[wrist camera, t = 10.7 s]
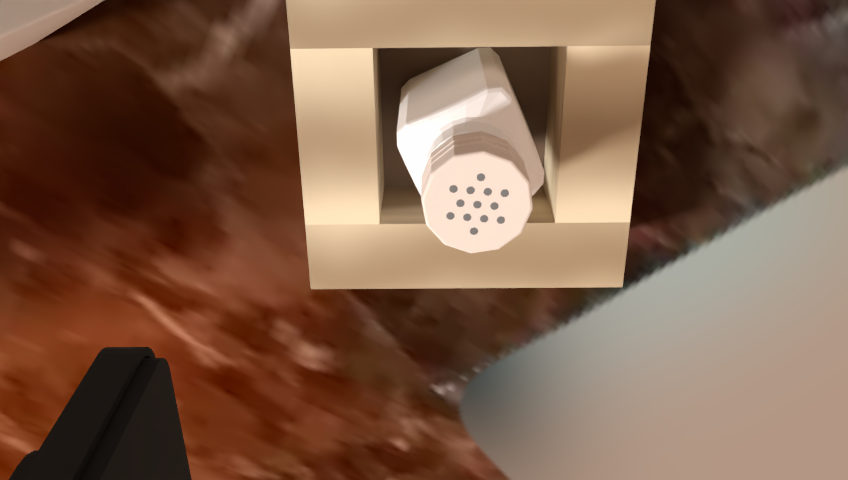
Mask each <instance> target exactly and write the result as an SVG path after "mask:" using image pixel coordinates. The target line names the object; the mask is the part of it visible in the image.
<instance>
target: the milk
mask: <svg viewBox="0 0 848 480" xmlns="http://www.w3.org/2000/svg"><path fill="white" fill-rule="evenodd" d="M102 1H104V0H0V61H1V60H3V59H5V58H7V57H9V56H11V55H13V54H15V53H17V52H19V51H21V50H23V49H25V48H27V47H29V46H31V45H33V44H35V43H36V42H38V41H40V40H41V39H43V38H44V37H46V36H48V35H49V34H51V33H52V32H54V31H56V30H57V29H59V28H61V27H62V26H64V25H65V24H67V23H69V22H70V21H72V20H73V19H75V18H77V17H78V16H80V15H81V14H83V13H85V12H86V11H88V10H90V9H91V8H93V7H94V6H96V5H98V4H99V3H101V2H102Z"/></svg>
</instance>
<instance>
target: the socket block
mask: <svg viewBox="0 0 848 480" xmlns="http://www.w3.org/2000/svg"><path fill="white" fill-rule="evenodd" d="M655 2H656V0H286V5H287V17H288V29H289V40H290V52H291V64H292V75H293V87H294V99H295V110H296V122H297V134H298V145H299V157H300V169H301V181H302V192H303V204H304V216H305V227H306V239H307V251H308V262H309V274H310V286H311V289H404V288H557V287H622V286H623V278H624V269H625V260H626V252H627V243H628V235H629V226H630V217H631V209H632V200H633V192H634V183H635V174H636V166H637V157H638V148H639V140H640V131H641V123H642V114H643V105H644V97H645V88H646V80H647V71H648V62H649V54H650V45H651V36H652V28H653V19H654V11H655ZM488 47H490V48H491V49H492V50H493V51H494V52H495V53H496V54H498V55H499V57H500V60H501V62H502V64H503V67H504V69H505V71H506V74H507V76H508V78H509V81H510V83H511V86H512V88H513V90H514V93H515V95H516V97H517V100H518V102H519V104H520V107H521V109H522V112H523V114H524V116H525V119H526V121H527V124H528V127H529V129H530V132H531V135H532V138H533V141H534V144H535V146H536V149H537V152H538V155H539V158H540V161H541V163H542V166H543V169H544V183H543V185H542V186H541V187H540V188H539V189H538V190H537V192H536V193H535V194H534V195H533V196H532V202H533V210H532V212H531V214H530V216H529V218H528V220H527V223H526V225H525V227H524V229H523V231H522V233H521V234H519V235H518V236H516V237H515V238H514V239H512V240H511V241H510V242H508V243H507V244H505V245H504V246H503V247H501V248H500V249H497V250H490V251H484V252H477V253H468V252H465V251H462V250H459V249H456V248H453V247H450V246H447V245H444V244H443V243H442V242H441V240H440V239H439V238H438V237H437V236H436V235H435V234H434V233H433V232H432V231H431V230H430V229H429V228H428V226H427V225H426V222H425V217H424V212H423V206H422V201H421V195H420V193H419V191H418V189H417V188H416V186H415V184H414V182H413V179H412V177H411V175H410V173H409V171H408V169H407V167H406V165H405V163H404V160H403V158H402V156H401V154H400V152H399V150H398V147H397V124H398V115H399V106H400V97H401V88H402V87H403V86H404V85H405V84H406V82H407V81H408V80H409V79H411V78H413V77H415V76H418V75H420V74H422V73H424V72H426V71H428V70H431V69H433V68H435V67H437V66H439V65H442V64H444V63H446V62H448V61H450V60H452V59H455V58H457V57H459V56H461V55H463V54H465V53H468V52H470V51H472V50H474V49H476V48H488Z"/></svg>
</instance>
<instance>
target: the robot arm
mask: <svg viewBox="0 0 848 480" xmlns="http://www.w3.org/2000/svg"><path fill="white" fill-rule="evenodd" d="M9 480H191V475H190V470H189V465H188V460H187V455H186V449H185V444H184V439H183V434H182V429H181V424H180V419H179V414H178V409H177V404H176V399H175V394H174V389H173V383H172V378H171V373H170V368H169V365H168V362H167V360H166V359H164V358H155V355H154V353H153V351H152V349H150V348H148V347H106V348H104V349H102V350H101V351H100V352H99V354H98V355H97V357H96V358H95V360H94V362H93V363H92V365H91V367H90V368H89V370H88V371H87V373H86V375H85V376H84V378H83V379H82V381H81V383H80V384H79V386H78V388H77V389H76V391H75V392H74V394H73V396H72V397H71V399H70V400H69V402H68V404H67V405H66V407H65V409H64V410H63V412H62V413H61V415H60V417H59V418H58V420H57V421H56V423H55V425H54V426H53V428H52V430H51V431H50V433H49V434H48V436H47V438H46V439H45V441H44V442H43V444H42V446H41V447H40V449H39V451H33V452H31V453H29V454H28V455H26V456H25V457H24V458H23V460H22V461H21V462H20V463H19V465H18V466H17V468H16V469H15V471H14V472H13V474H12V475H11V477H10V479H9Z"/></svg>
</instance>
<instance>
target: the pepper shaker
mask: <svg viewBox="0 0 848 480" xmlns="http://www.w3.org/2000/svg"><path fill="white" fill-rule="evenodd" d="M397 147H398V150H399V152H400V154H401V156H402V158H403V160H404V163H405V165H406V167H407V169H408V171H409V173H410V175H411V177H412V179H413V182H414V184H415V186H416V188H417V189H418V191H419V193H420V195H421V201H422V206H423V212H424V217H425V222H426V225H427V226H428V228H429V229H430V230H431V231H432V232H433V233H434V234H435V235H436V236H437V237H438V238H439V239H440V240H441V242H442V243H443V244H444V245H447V246H450V247H453V248H456V249H459V250H462V251H465V252H468V253H477V252H484V251H490V250H497V249H500V248H501V247H503V246H504V245H505V244H507V243H508V242H510V241H511V240H512V239H514V238H515V237H516V236H518V235H519V234H521V233H522V231H523V229H524V227H525V225H526V223H527V220H528V218H529V216H530V214H531V212H532V210H533V202H532V196H533V195H534V194H535V193H536V192H537V190H538V189H539V188H540V187H541V186H542V185H543V183H544V169H543V166H542V163H541V161H540V158H539V155H538V152H537V149H536V146H535V144H534V141H533V138H532V135H531V132H530V129H529V127H528V124H527V121H526V119H525V116H524V114H523V112H522V109H521V107H520V104H519V102H518V100H517V97H516V95H515V93H514V90H513V88H512V86H511V83H510V81H509V78H508V76H507V74H506V71H505V69H504V67H503V64H502V62H501V60H500V57H499V55H498V54H496V53H495V52H494V51H493V50H492V49H491V48H490V47H488V48H476V49H474V50H472V51H470V52H468V53H465V54H463V55H461V56H459V57H457V58H455V59H452V60H450V61H448V62H446V63H444V64H442V65H439V66H437V67H435V68H433V69H431V70H428V71H426V72H424V73H422V74H420V75H418V76H415V77H413V78H411V79H409V80H408V81H407V82H406V84H405V85H404V86H403V87H402V88H401V97H400V106H399V115H398V124H397Z"/></svg>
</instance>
